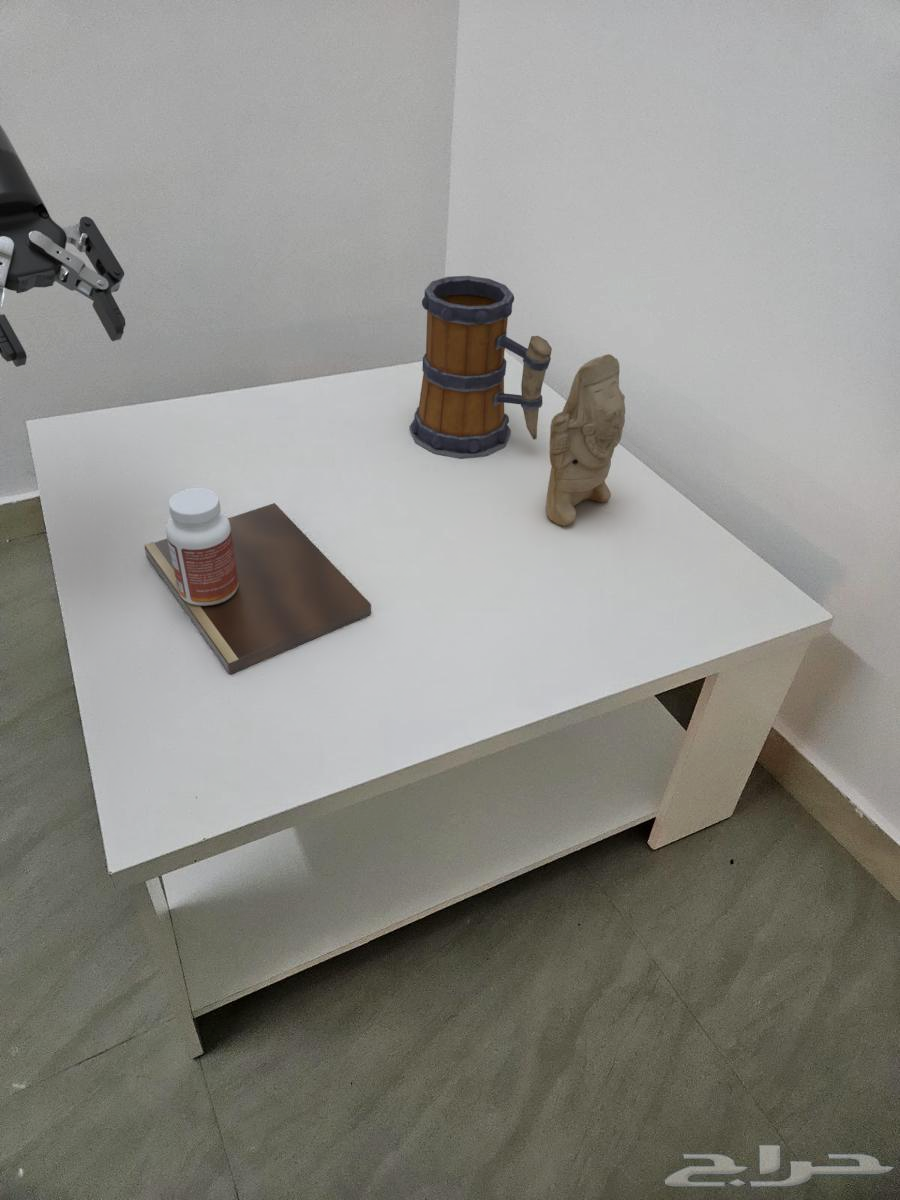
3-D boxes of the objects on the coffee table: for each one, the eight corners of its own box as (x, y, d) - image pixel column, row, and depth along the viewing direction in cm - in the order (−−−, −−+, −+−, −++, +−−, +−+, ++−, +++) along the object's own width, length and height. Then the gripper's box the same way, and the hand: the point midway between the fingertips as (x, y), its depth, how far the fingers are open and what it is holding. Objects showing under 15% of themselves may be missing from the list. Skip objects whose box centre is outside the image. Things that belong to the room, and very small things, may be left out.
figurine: (561, 541, 97) (588, 386, 84) (519, 513, 102) (538, 360, 88) (630, 504, 104) (665, 356, 91) (588, 479, 108) (615, 333, 95)
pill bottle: (250, 581, 87) (240, 493, 80) (215, 615, 82) (201, 525, 75) (202, 564, 89) (187, 476, 81) (165, 596, 84) (146, 507, 77)
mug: (558, 435, 117) (579, 295, 104) (513, 481, 107) (530, 333, 94) (441, 398, 123) (448, 263, 110) (389, 438, 114) (389, 295, 101)
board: (229, 675, 79) (227, 663, 77) (146, 556, 92) (143, 544, 91) (371, 614, 86) (371, 603, 85) (275, 512, 99) (274, 501, 98)
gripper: (-120, 156, 62) (-11, 351, 63) (64, 134, 70) (157, 309, 71) (-115, 213, 68) (-16, 390, 70) (53, 187, 76) (139, 346, 77)
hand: (72, 348), depth 70 cm, fingers open, 8 cm apart
